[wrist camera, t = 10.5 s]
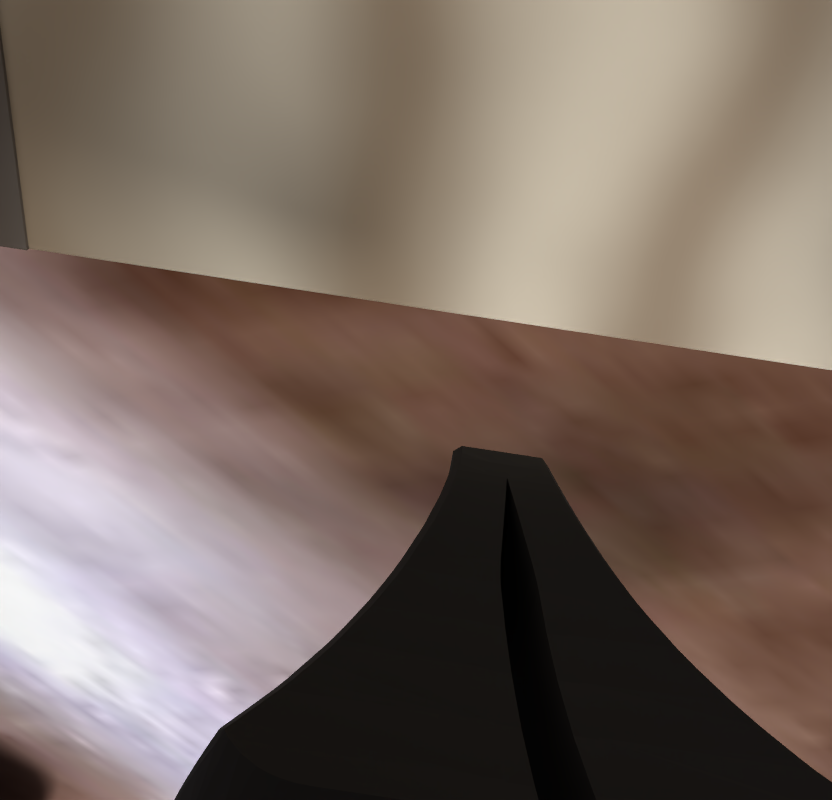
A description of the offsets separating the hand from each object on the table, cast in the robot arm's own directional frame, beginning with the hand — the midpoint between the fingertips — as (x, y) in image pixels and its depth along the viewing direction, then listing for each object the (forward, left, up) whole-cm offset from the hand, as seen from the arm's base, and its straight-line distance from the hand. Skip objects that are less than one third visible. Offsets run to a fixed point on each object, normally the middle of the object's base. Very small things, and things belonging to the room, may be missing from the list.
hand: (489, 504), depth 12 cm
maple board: (+2, -5, -9) cm, 11 cm away
